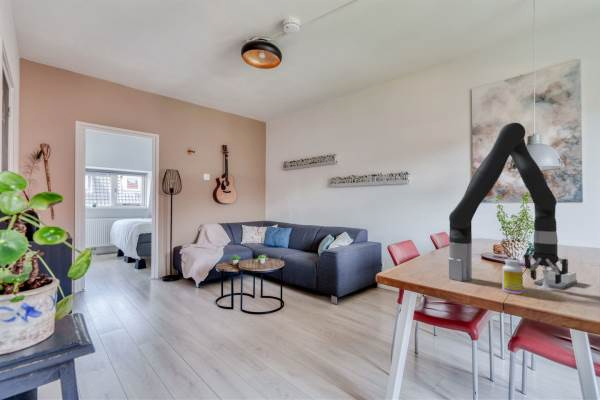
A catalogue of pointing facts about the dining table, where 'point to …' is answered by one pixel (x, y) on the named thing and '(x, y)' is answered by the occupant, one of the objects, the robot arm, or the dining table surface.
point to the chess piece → (545, 281)
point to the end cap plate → (565, 280)
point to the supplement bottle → (512, 277)
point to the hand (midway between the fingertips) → (545, 281)
